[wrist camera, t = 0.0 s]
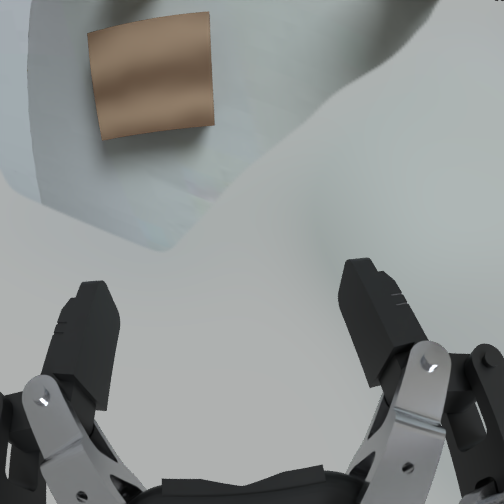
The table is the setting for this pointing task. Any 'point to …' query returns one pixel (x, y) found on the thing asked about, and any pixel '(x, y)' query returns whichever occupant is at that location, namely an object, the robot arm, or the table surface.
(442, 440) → the robot arm
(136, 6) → the table surface
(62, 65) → the table surface
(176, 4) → the table surface
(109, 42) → the brown wooden block
